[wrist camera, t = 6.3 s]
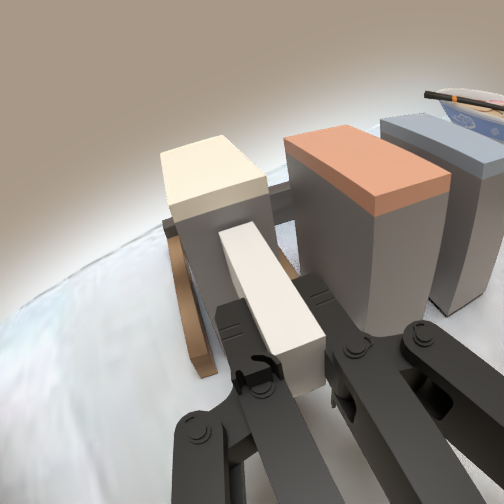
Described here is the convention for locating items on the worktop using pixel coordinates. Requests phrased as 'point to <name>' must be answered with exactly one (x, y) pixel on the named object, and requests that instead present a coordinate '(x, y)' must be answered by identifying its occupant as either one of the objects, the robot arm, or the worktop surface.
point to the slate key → (459, 202)
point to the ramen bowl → (473, 110)
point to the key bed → (185, 289)
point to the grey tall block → (215, 210)
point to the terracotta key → (367, 223)
